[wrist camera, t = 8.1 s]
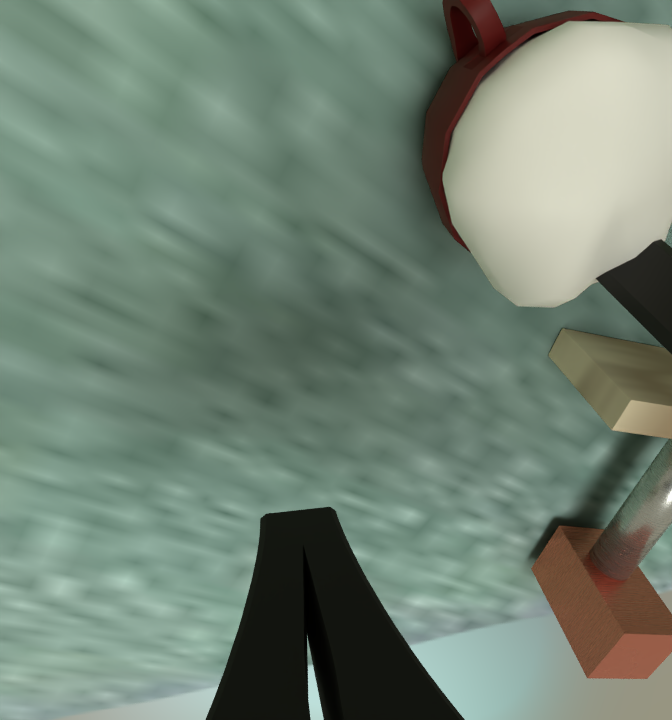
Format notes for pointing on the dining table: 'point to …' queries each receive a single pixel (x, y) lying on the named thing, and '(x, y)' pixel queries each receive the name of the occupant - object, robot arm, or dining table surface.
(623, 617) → the lock pin
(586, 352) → the dock
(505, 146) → the cocoa
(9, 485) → the dining table surface
